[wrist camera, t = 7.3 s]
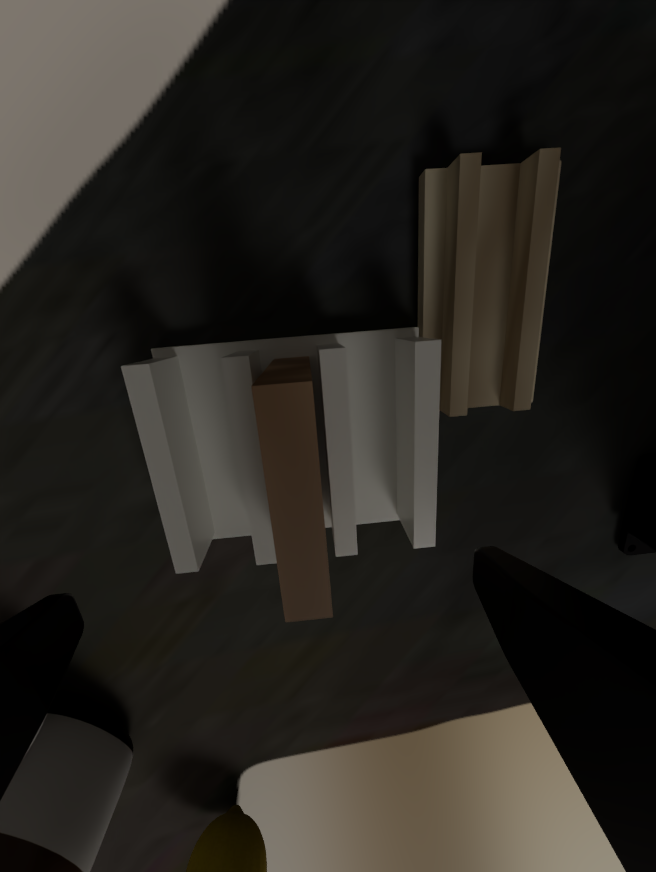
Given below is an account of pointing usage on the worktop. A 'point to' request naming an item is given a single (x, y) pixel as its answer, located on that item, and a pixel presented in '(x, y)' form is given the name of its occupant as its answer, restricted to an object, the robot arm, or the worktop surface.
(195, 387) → the rack
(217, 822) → the lemon
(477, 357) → the stand
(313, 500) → the board
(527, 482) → the worktop surface
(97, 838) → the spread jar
